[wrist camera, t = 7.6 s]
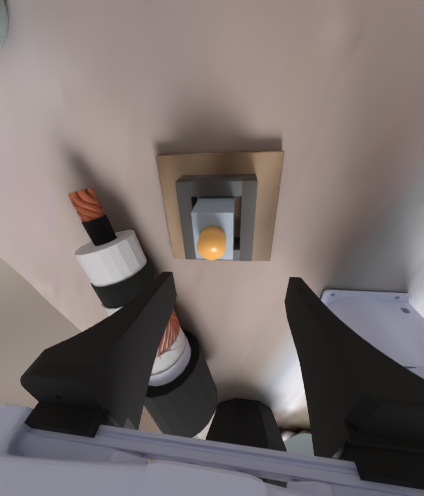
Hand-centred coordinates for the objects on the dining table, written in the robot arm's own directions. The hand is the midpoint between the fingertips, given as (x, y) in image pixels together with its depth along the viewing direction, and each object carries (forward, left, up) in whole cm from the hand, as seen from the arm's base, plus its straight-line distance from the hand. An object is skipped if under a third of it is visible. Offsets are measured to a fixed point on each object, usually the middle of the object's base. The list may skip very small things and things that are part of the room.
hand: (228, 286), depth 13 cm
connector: (+1, -1, -9) cm, 10 cm away
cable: (+11, +13, -11) cm, 20 cm away
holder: (+1, -1, -10) cm, 10 cm away
